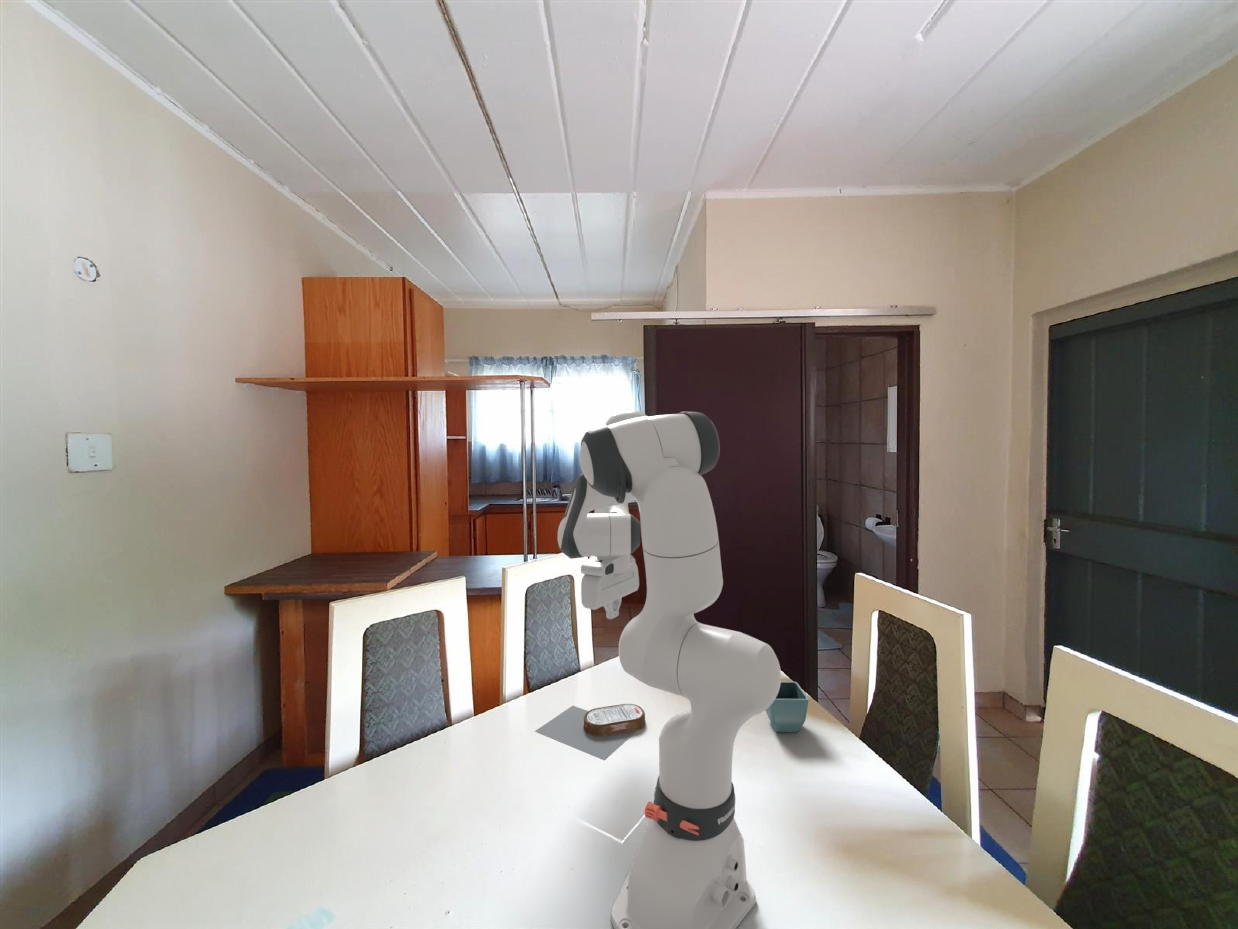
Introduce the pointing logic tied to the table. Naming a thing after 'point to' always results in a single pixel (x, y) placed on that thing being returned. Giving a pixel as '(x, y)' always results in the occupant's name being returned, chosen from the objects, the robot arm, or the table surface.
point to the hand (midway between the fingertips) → (612, 617)
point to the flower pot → (788, 708)
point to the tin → (614, 720)
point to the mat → (581, 734)
